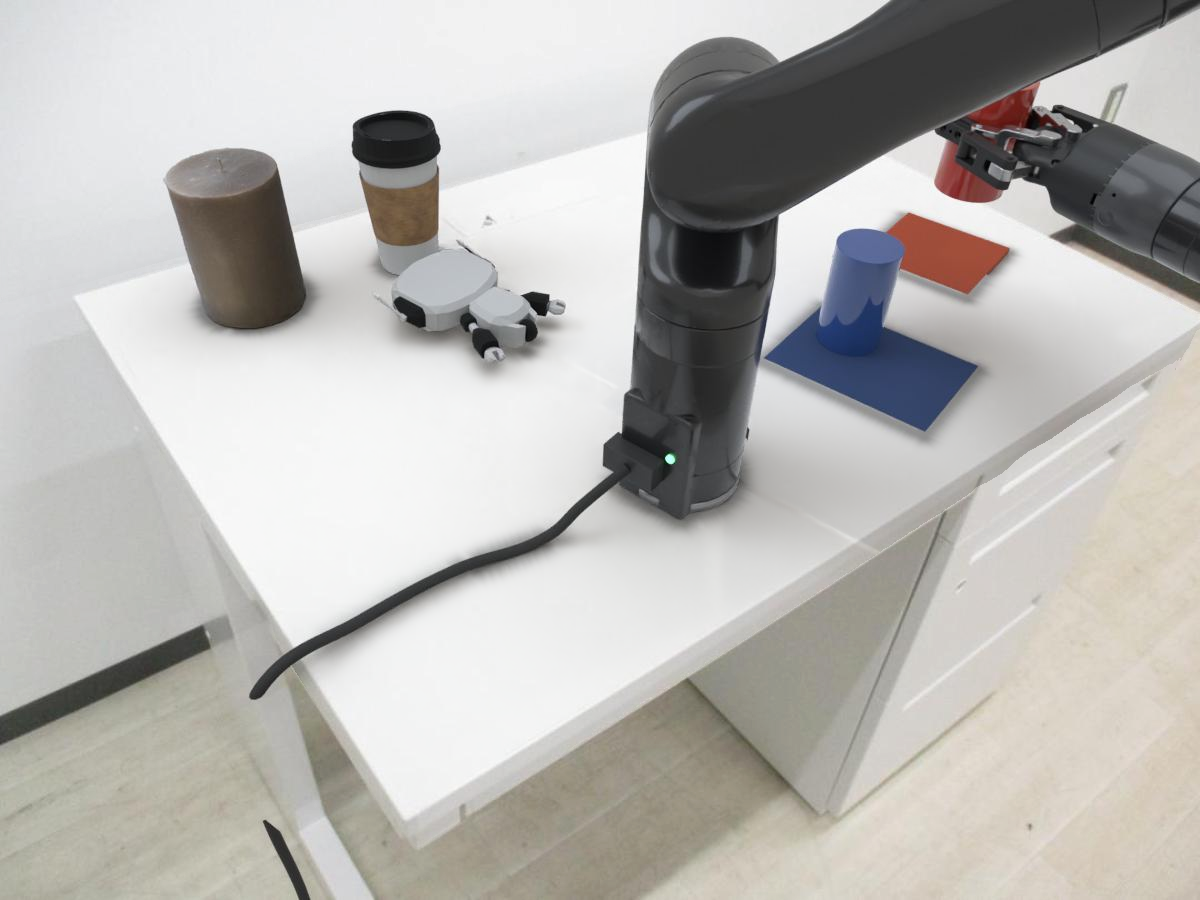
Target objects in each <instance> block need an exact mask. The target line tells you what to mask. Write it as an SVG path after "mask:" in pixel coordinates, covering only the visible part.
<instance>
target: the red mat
mask: <svg viewBox="0 0 1200 900" xmlns="http://www.w3.org/2000/svg"><path fill="white" fill-rule="evenodd" d="M885 233H888V234H890V235H892V236H894V237H895V238H897V239H898V240H899V241H900V242H901V243H902V244H903V245H904V248H905V254H904V258H903V261H902V265H901V268H900V270H902V271H905V272H908V273H910V274H912V275H916V276H918V277H920V278H924V279H927V280H929V281H932V282H934V283H936V284H939V285H942V286H944V287H947V288H950V289H952V290H956V291H957V292H960V293H963V294H965V295H969V294H970V293H971V292H972V291H973V289H974V288H976V286H977V285H978V284H979V283H980V281H981V280H982V279H983V278H984V277H985V276H986V275H987V276H988V275H989V274H990V273H991V272H992V271H993V270H994V269H995V268H996V267H997V266H998V265H999V264H1000V262H1001V261H1002V260H1003V259H1004V258H1005V257H1006V256H1007V255H1008V253H1010V250H1011V248H1010V247H1008V246H1005V245H1002V244H1000V243H996V242H994V241H991V240H989V239H985V238H983V237H979V236H977V235H974V234H971V233H968V232H965V231H963V230H960V229H957V228H954V227H951V226H948V225H945V224H942V223H940V222H937V221H935V220H932V219H929V218H925V217H923V216H921V215H917V214H914V213H911V212H907V213H906V214H905V215H904V216H903V217H902V218H900V219H899V220H898V221H897V222H895V224H894V225H893V226H891V227H890V228H889V229H888V230H886V232H885Z"/></svg>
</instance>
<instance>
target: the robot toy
mask: <svg viewBox="0 0 1200 900" xmlns="http://www.w3.org/2000/svg"><path fill="white" fill-rule="evenodd" d="M455 240H456V243H457V245H459V246H460V248H451V249H450V248H449V249H448V248H447V249H444V250H441V251H438V252H437V253H434V254H431V255H429V256H427V257H425V258H423V259H420V260H418V261H416V262H415V263H413V264H412V265H410V266H409V267H408V268H407V269H406V270H405V271H403V272H402V273H401V274H400V275H397V277H396V278H395V280H394V281H393V282H392V285H391V290H390V292H391V302H392V303H391V304H392V305H391V304H390V303H388V302H387V301H385V300H384V299H383V297H381V295H380V294H378V293H377V292H371V295H372V297H373V298H374V299H375V300H376V301H379V302H380V303H381V304H382V305H384V306H385V307H386V308H387V309H388V310H390V311H391V312H392V313H393V314H394V315H395V316H397V317H398V319H399V320H400V322H402V323H408V324H410V325H412V326H414V327H416V328H417V329H422V330H424V331H427V332H442V331H443V332H445V331H448V330H450V329H453V328H456V327H458V326H461V328H462V329H463V330H464V332H466V333H471V343H472V345H473V346H472V347H473V349H474V350H475V351H476V352H477V353H478V355H479V356H480V358H481V359H484V360H485V361H486V362H488V363H489V364H490V365H492V364H493V365H494V364H497V363H498V362H499V363H501V362H503V361H504V360H505V358H506V355H505V352H504V350H503V349H502V348H500V347H505V346H506V347H510V348H514V349H518V348H522V347H525V346H526V343H530V342H534V340H536V339H537V337H538V334H539V330H538V329H539V328H538V327H537V322H538V321H537V320H538V319H537V318H538V316H539V317H546V318H547V315H548V313H550V314H552V315H553V316H561V315H563V314H564V313H565V310H566V308H567V307H566V306H567V304H566V302H565V301H564V300H561V299H559V298H558V299H552V300H550V294H549V293H544V292H538V291H533V290H532V291H529V292H526V293H523V294H521V295H520V294H517V293H515V292H512V291H511V289H505V288H500V287H498V285H499V283H498V282H499V281H498V280H499V278H498V277H499V275H498V274H499V272H498V270H497V269H496V266H495V264H493V262H492V261H490V260H488V259H487V258H486V257H482V256H481V255H479V254H478V253H477V252H476V251H475V250H473V249H471V248H470V247H469V246H468V245H467V244H465V243H464V241H463V240H461V239H455ZM461 247H462V248H461ZM497 361H498V362H497Z"/></svg>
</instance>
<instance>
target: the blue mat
mask: <svg viewBox="0 0 1200 900" xmlns="http://www.w3.org/2000/svg"><path fill="white" fill-rule="evenodd" d="M820 311H821V306H819V308H817V309H816V310H815V311H814V312H813V313H812V314H811V315H809V316H808V317H807V318H806V319H805V320H804V321H803V322H801V324H800V325H799V326H797V327H796V328H795V329H794V330H793V331H792V332H791V333H789V335H787V336H786V337H785V338H784V339H783V340H782V341H781V342H779V343H778V344H777V345H776V346H775V347H774V348H773V349H772V350H771V351H770V352H768V353H767V354H766V355H765V356H764V357H763V359H764V360H767V361H769V362H771V363H774V364H775V365H777V366H780V367H782V368H784V369H787V370H789V371H791V372H793V373H795V374H797V375H799V376H802V377H803V378H806V379H809V380H811V381H813V382H815V383H817V384H820V385H821V386H824V387H826V388H828V389H830V390H832V391H835V392H837V393H839V394H841V395H843V396H846V397H848V398H850V399H852V400H854V401H856V402H859V403H861V404H864V406H865V405H866V406H868V407H869V408H872V409H873V410H876V411H878V412H880V413H882V414H885V415H887V416H889V417H892V418H894V419H895V420H898V421H901V422H902V423H905V424H907V425H909V426H911V427H913V428H915V429H918V430H920V431H922V432H924V433H925V432H926V431H927V430H928V429H929V428H930V426H932V424H933V423H934V421H935V420H936V419H937V418H938V417H939V416H940V414H941V413H942V412H943V410H944V409H945V408H946V407H947V406H948V404H949V403H950V402H951V400H952V399H953V398H954V397H955V396H956V394H957V393H958V392H959V391H960V390H961V388H962V387H963V386H964V384H965V383H966V382H967V381H968V380H969V379H970V377H971V376H972V375H973V373H975V372H976V370H977V368H979V365H977V364H975V363H972V362H970V361H968V360H965V359H962V358H960V357H957V356H955V355H953V354H950V353H949V352H946V351H943V350H941V349H938V348H937V347H934V346H931V345H929V344H927V343H924V342H922V341H919V340H917V339H914V338H912V337H910V336H907V335H905V334H902V333H899V332H898V331H895V330H893V329H890V328H888V327H885V326H884V328H883V331H882V335H881V339H880V342H879V345H878V347H877V349H876V350H875V351H873V352H872V353H870V354H867V355H863V356H846V355H841V354H838V353H835V352H832V351H830V350H828V349H827V348H825V347H824V346H822V345H821V344H820V342H819V341H818V340H817V337H816V328H817V324H818V319H819V315H820Z"/></svg>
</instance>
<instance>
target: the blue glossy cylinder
mask: <svg viewBox="0 0 1200 900" xmlns="http://www.w3.org/2000/svg"><path fill="white" fill-rule="evenodd" d="M832 253H833V254H832V258H831V262H830V267H829V271H828V276H827V280H826V285H825V287H824V288H825V289H824V293H823V298H822V302H821V306H820V307H821V311H820V315H819V319H818V324H817V328H816V337H817V340H818V341H819V342H820V344H821V345H822V346H824V347H825V348H827V349H828V350H830V351H832V352H835V353H838V354H841V355H846V356H863V355H867V354H870V353H872V352H873V351H875V350H876V349H877V347H878V345H879V342H880V339H881V335H882V331H883V328H884V327H885V324H886V321H887V317H888V313H889V310H890V307H891V303H892V299H893V297H894V292H895V289H896V286H897V281H898V279H899V275H900V272H901V269H900V268H901V265H902V261H903V258H904V254H905V248H904V245H903V244H902V243H901V242H900V241H899V240H898V239H897V238H895V237H894V236H892V235H890V234H888V233H886V232H885V231H882V230H878V229H872V228H852V229H848V230H845V231H843V232H842V233H840V234H839V235H838V236H837V238H836V240H835V245H834V249H833V252H832Z"/></svg>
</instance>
